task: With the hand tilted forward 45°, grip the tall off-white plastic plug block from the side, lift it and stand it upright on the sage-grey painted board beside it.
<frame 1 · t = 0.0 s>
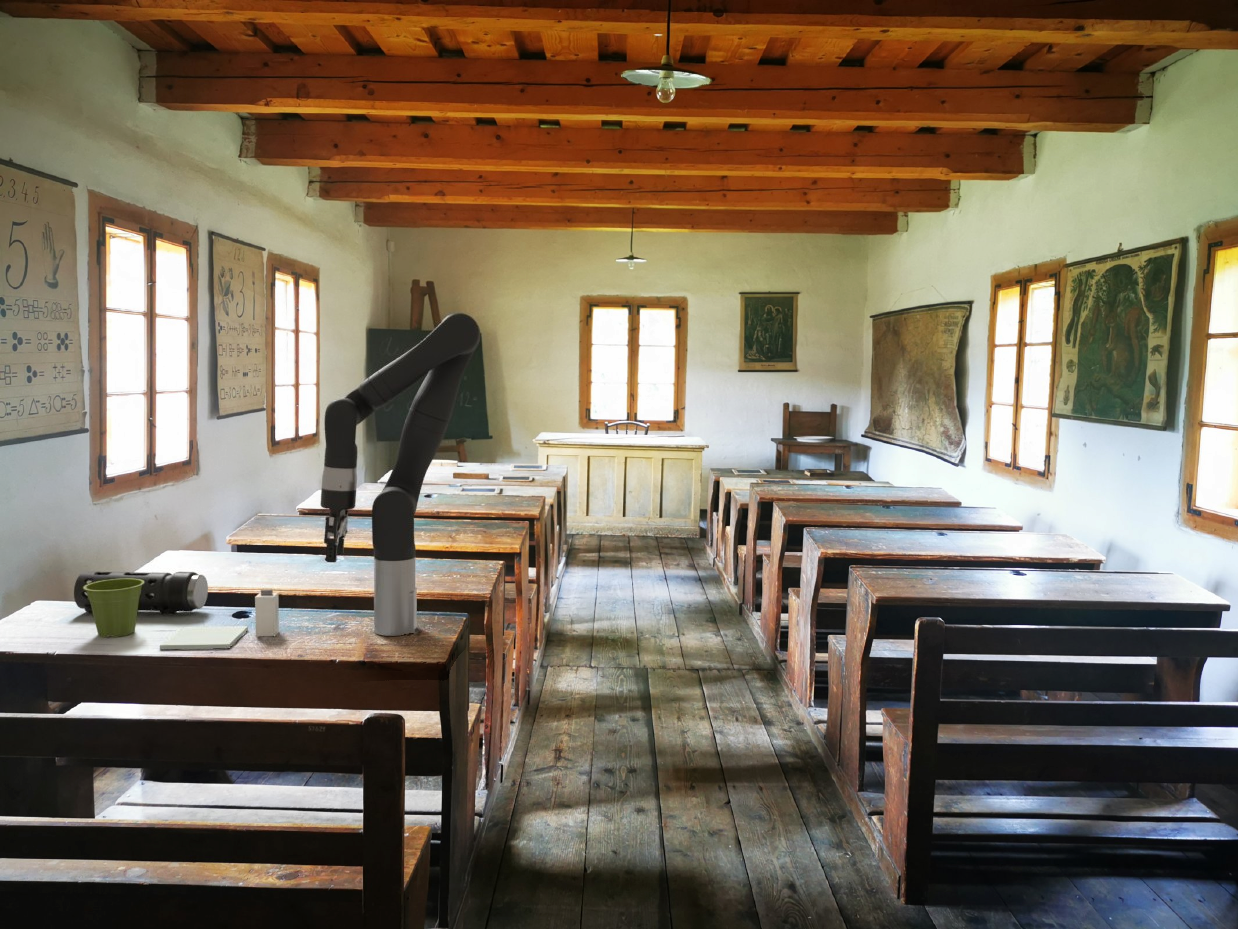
hand: (334, 557, 204), 17 cm above the table, tool pointing down, fingers open, 8 cm apart
board: (205, 639, 198), on the table
plant pot: (115, 634, 201), on the table
plug block: (267, 634, 203), on the table
muzzle brake: (143, 614, 219), on the table
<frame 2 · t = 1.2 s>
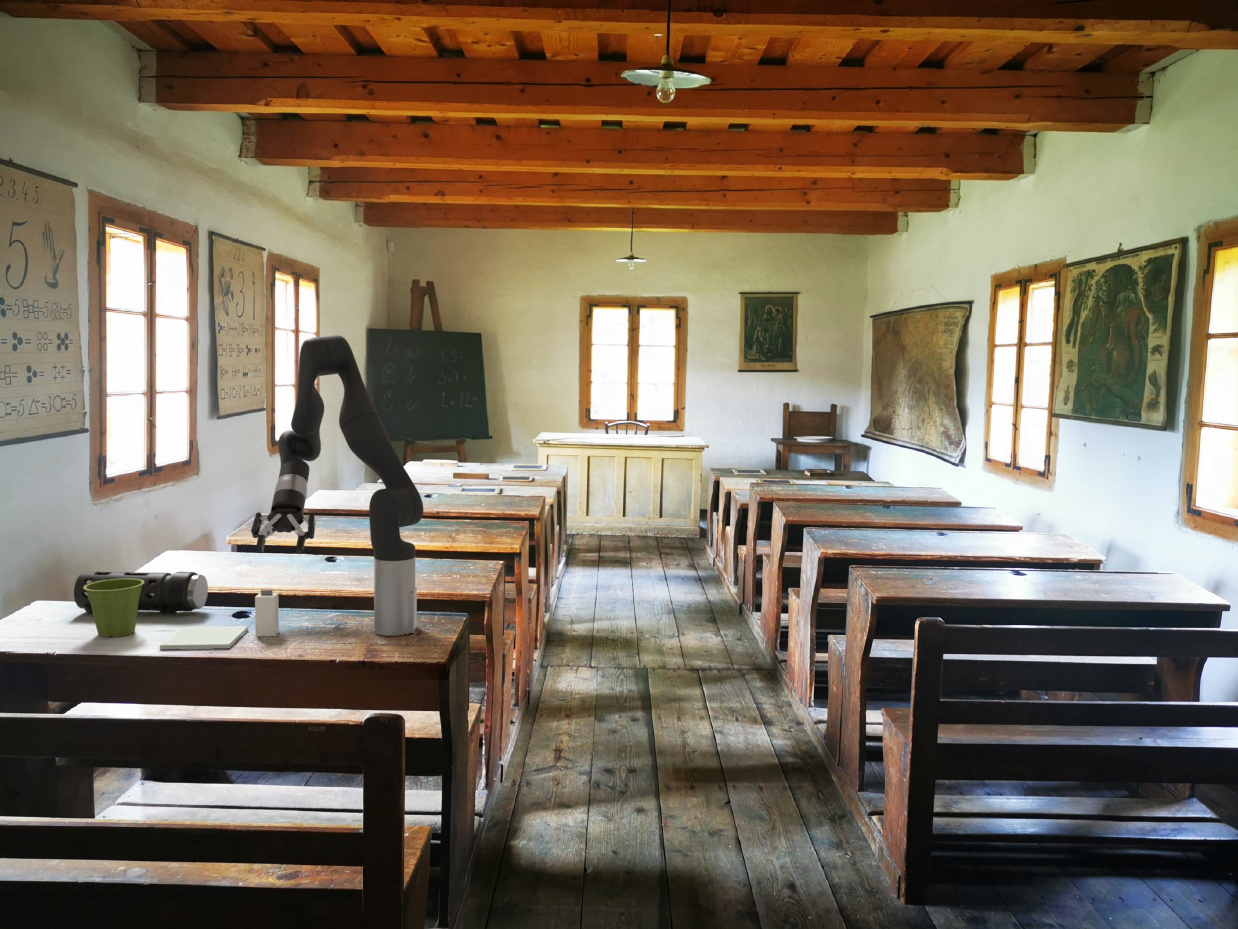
hand: (279, 551, 215), 16 cm above the table, tool tilted 45°, fingers open, 8 cm apart
nothing on the table moved.
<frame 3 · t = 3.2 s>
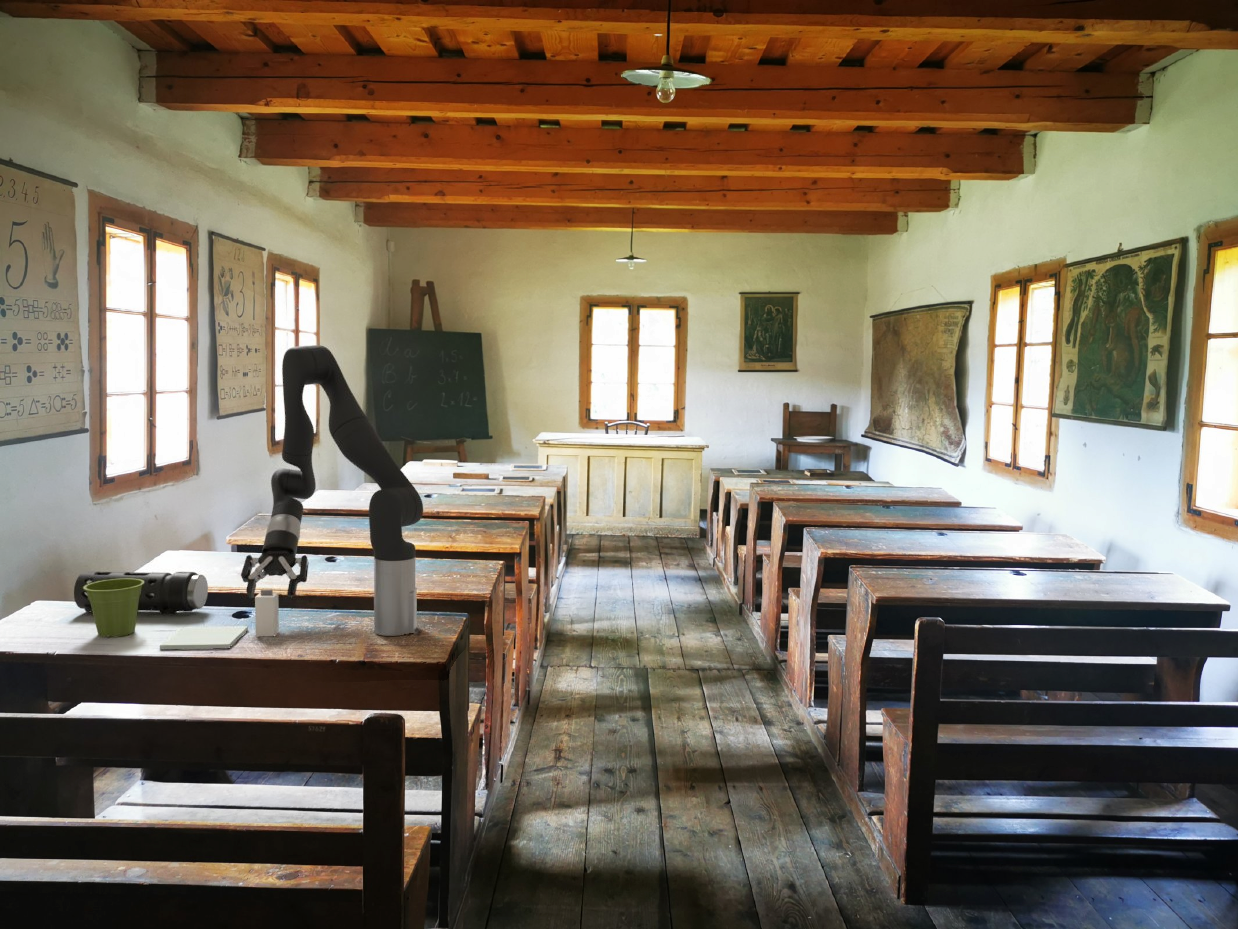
hand: (270, 596, 205), 8 cm above the table, tool tilted 45°, fingers open, 8 cm apart
nothing on the table moved.
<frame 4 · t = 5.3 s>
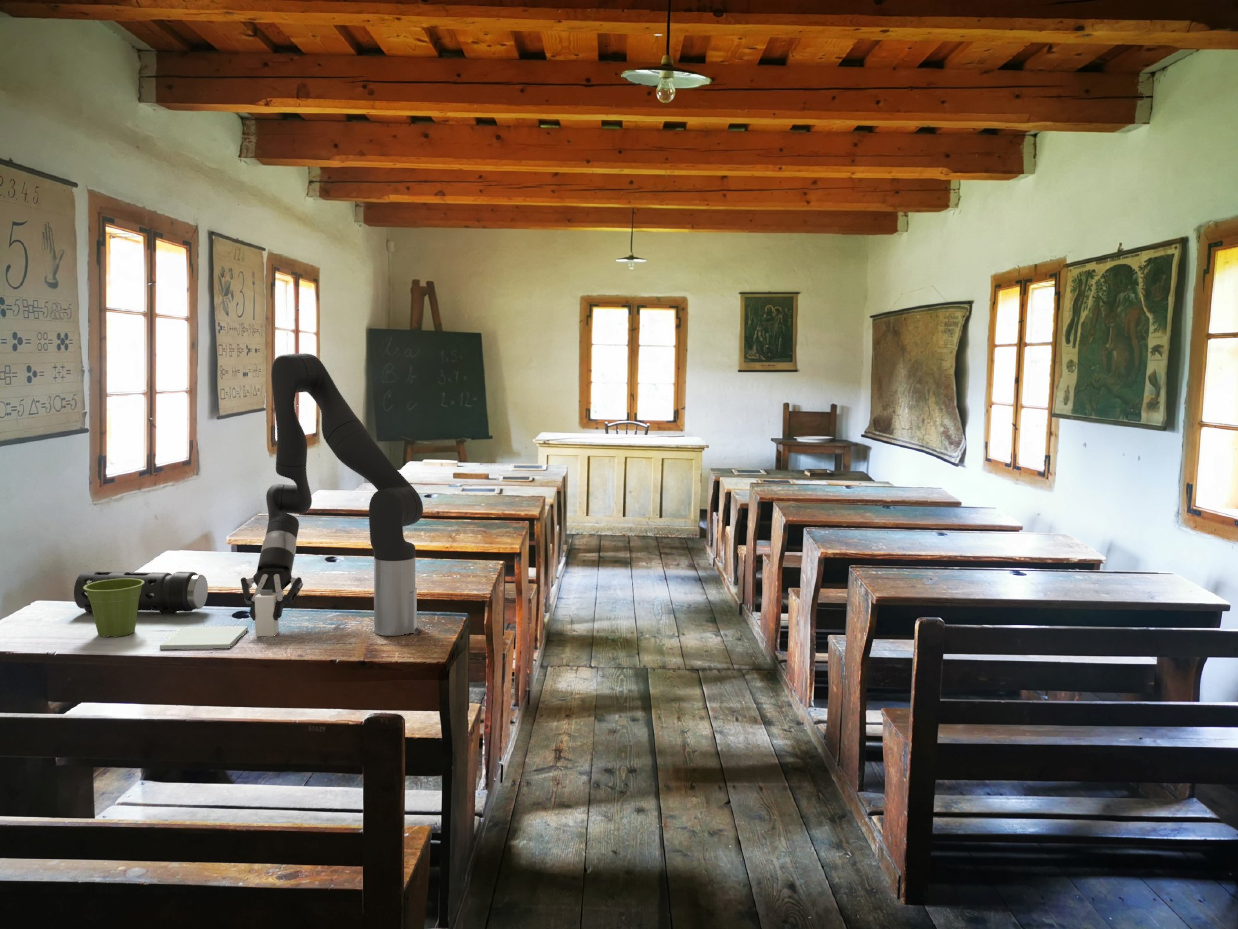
hand: (264, 618, 201), 4 cm above the table, tool tilted 45°, fingers closed on plug block, 4 cm apart
plug block: (267, 634, 203), on the table, touching gripper
everything else where it was.
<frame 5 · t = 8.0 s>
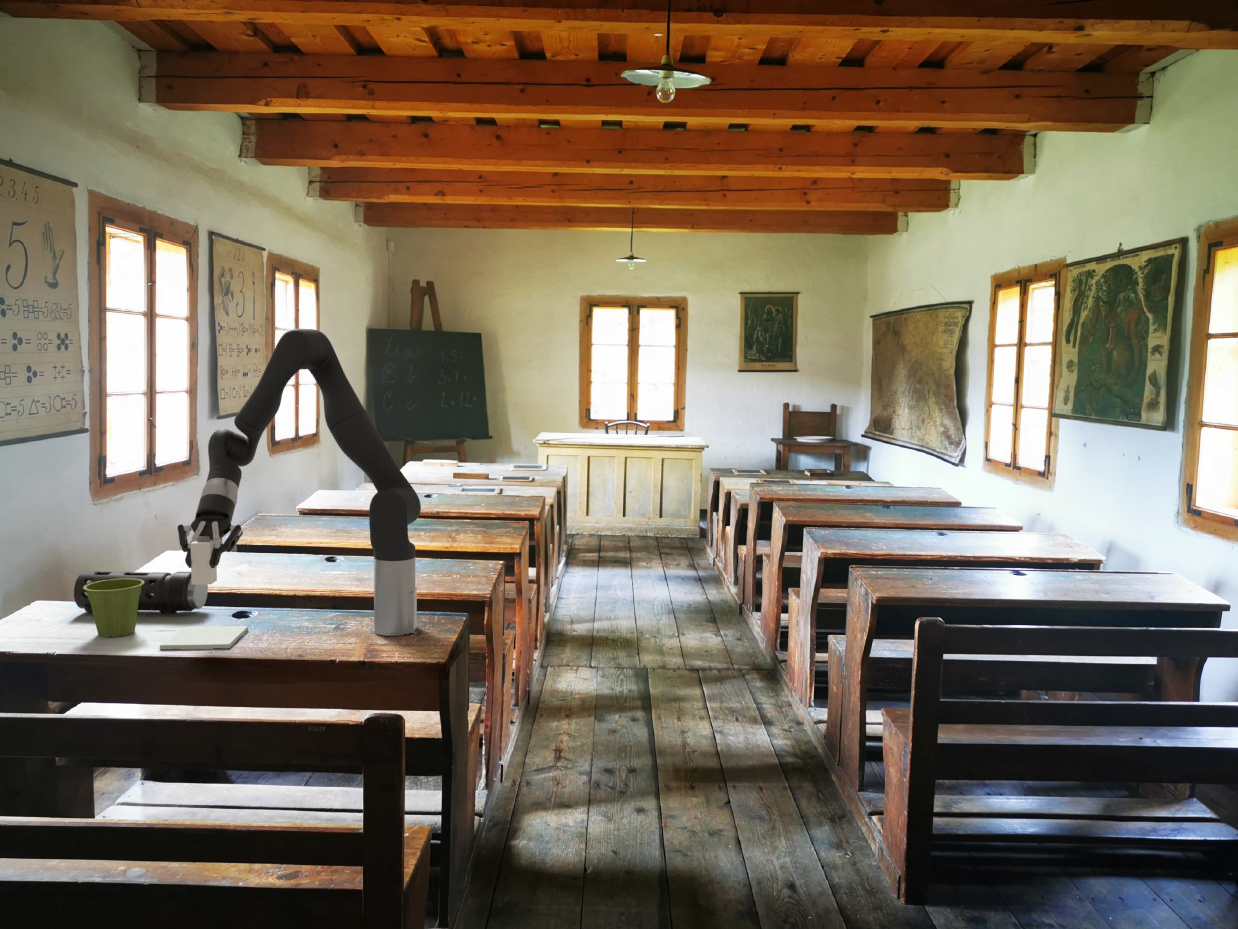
hand: (201, 565, 194), 17 cm above the table, tool tilted 45°, fingers closed on plug block, 4 cm apart
plug block: (204, 582, 197), point 13 cm above the table, touching gripper
everything else where it was.
when the fingers open (6 cm above the table, at t = 10.7 s): plug block stays where it is, resting on board.
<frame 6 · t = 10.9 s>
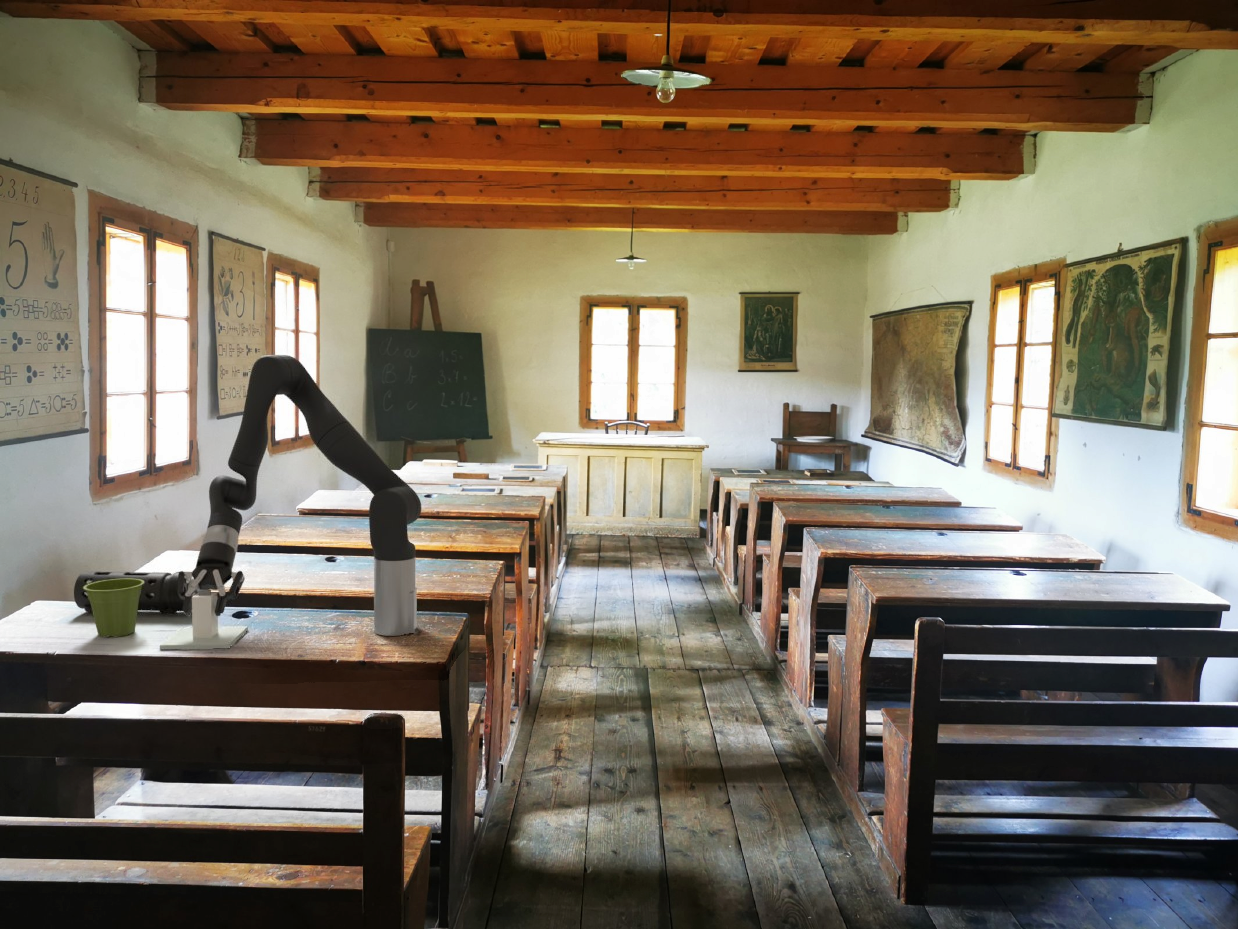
hand: (202, 614, 195), 6 cm above the table, tool tilted 45°, fingers open, 5 cm apart
plug block: (205, 635, 198), point 1 cm above the table, touching board
everything else where it was.
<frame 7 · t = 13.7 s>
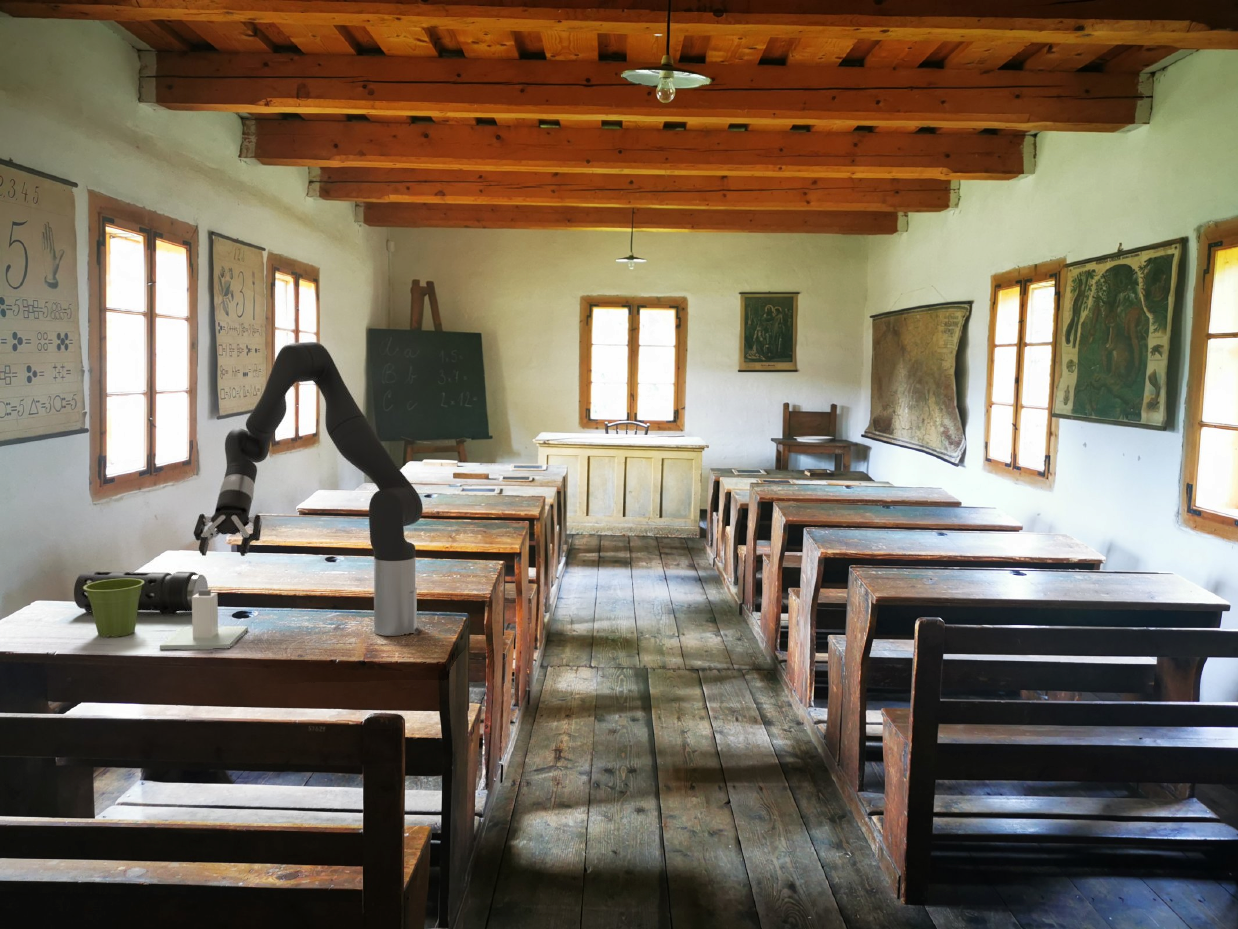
hand: (222, 554, 208), 17 cm above the table, tool tilted 45°, fingers open, 8 cm apart
nothing on the table moved.
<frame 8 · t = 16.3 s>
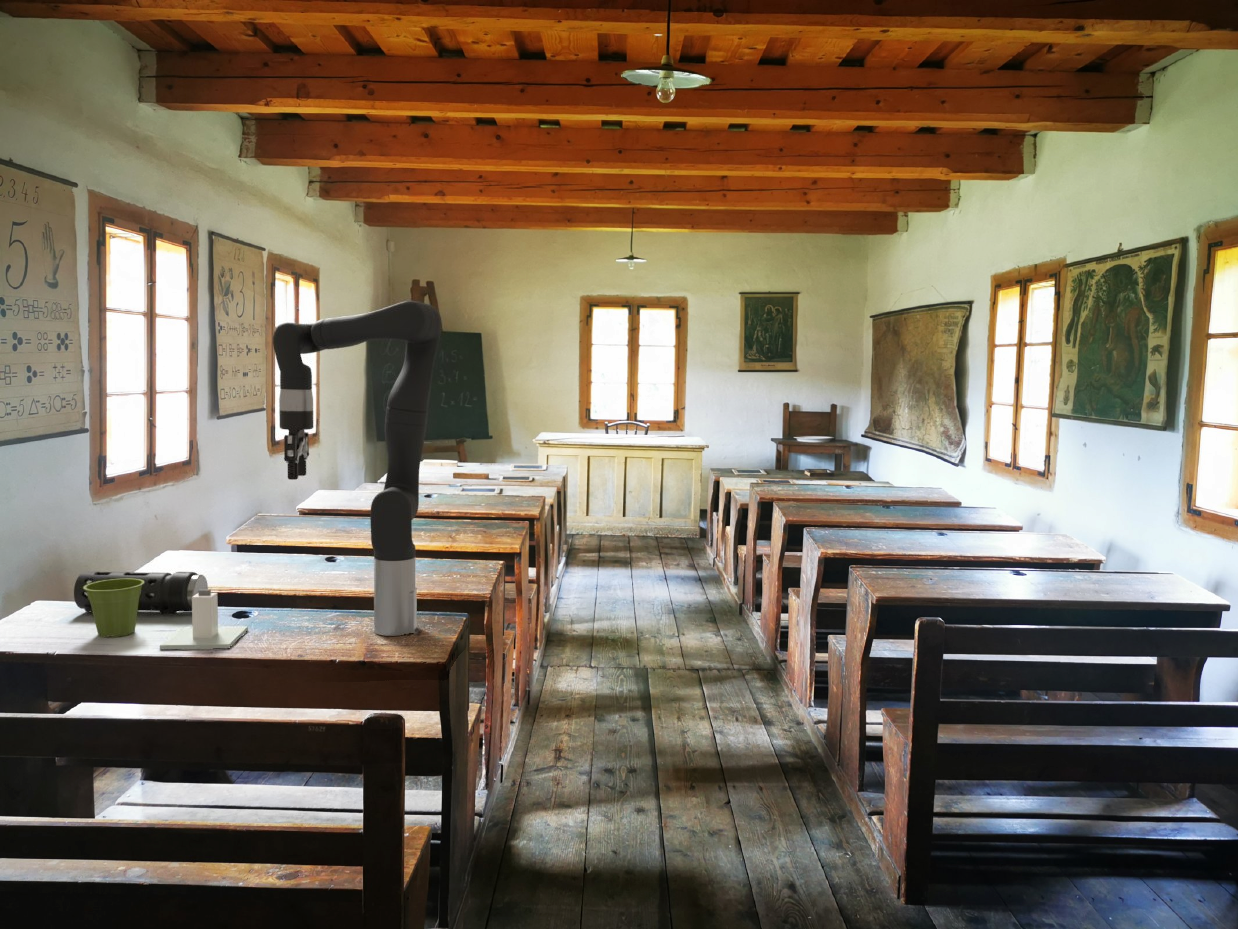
hand: (297, 477, 213), 34 cm above the table, tool pointing down, fingers open, 8 cm apart
nothing on the table moved.
at the end: plug block inside the target area on the board (0.1 cm from its centre), point 1.0 cm above the board's base; plug block tilted 0°; the gripper is holding nothing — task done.
